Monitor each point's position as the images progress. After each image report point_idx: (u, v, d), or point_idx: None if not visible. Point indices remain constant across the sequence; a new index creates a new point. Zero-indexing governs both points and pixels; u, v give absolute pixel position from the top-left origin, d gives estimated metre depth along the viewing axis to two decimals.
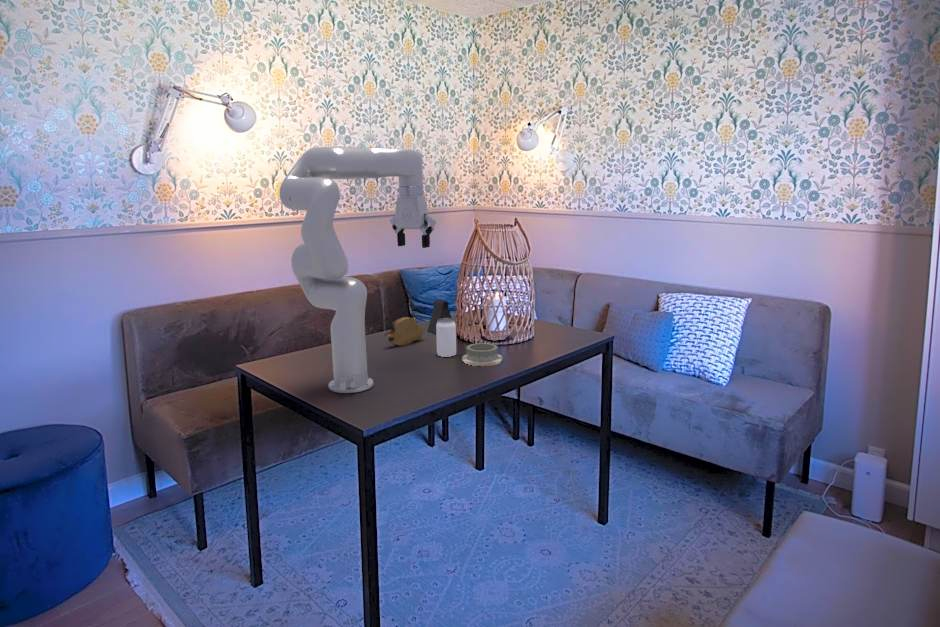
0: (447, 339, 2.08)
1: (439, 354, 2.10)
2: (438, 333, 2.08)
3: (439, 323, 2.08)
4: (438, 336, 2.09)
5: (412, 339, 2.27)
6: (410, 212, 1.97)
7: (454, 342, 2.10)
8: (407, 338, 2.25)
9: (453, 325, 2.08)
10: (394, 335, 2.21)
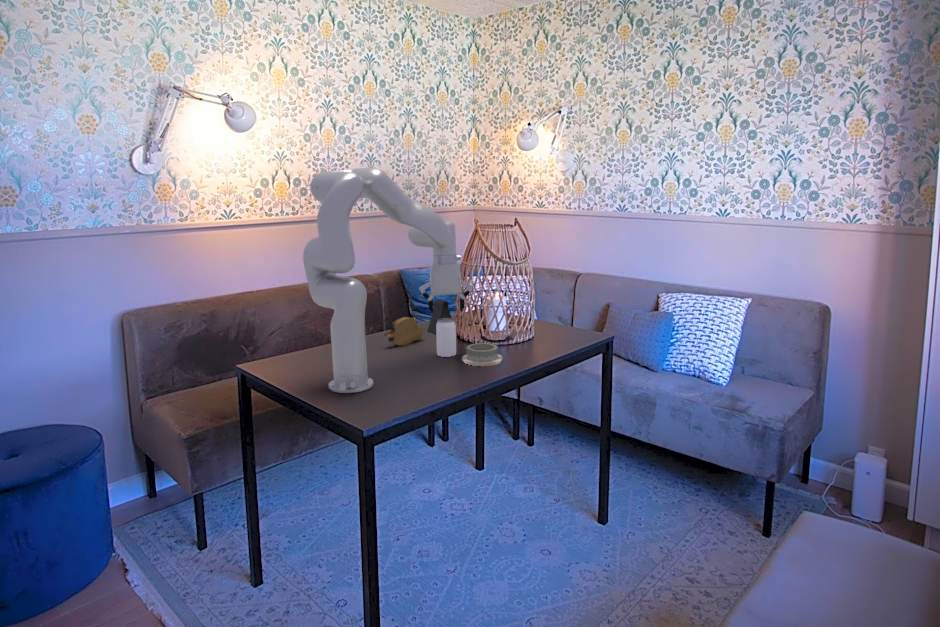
0: (447, 339, 2.08)
1: (439, 354, 2.10)
2: (438, 333, 2.08)
3: (439, 323, 2.08)
4: (438, 336, 2.09)
5: (412, 339, 2.27)
6: None
7: (454, 342, 2.10)
8: (407, 338, 2.25)
9: (453, 325, 2.08)
10: (394, 335, 2.21)
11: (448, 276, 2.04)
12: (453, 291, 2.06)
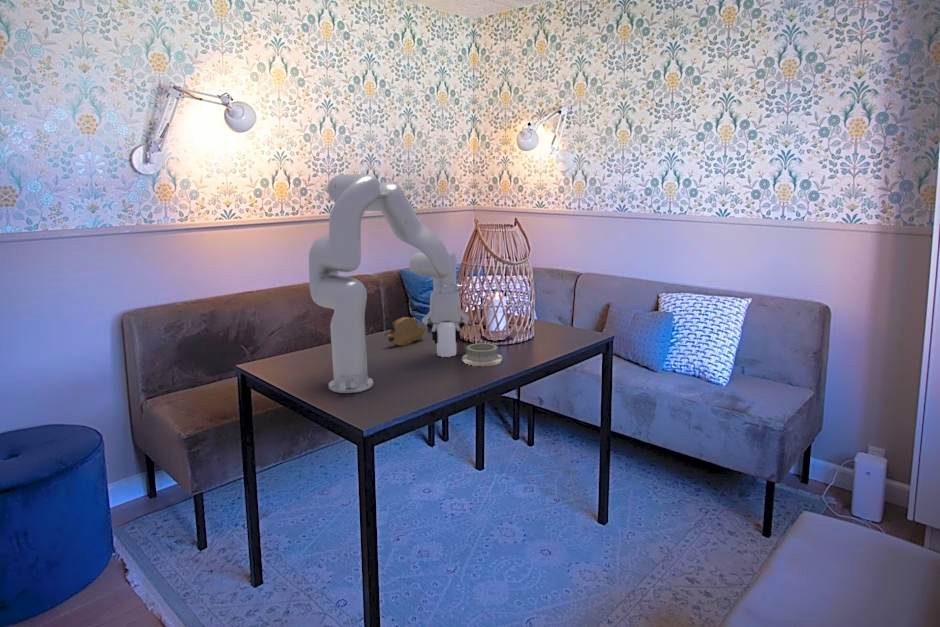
0: (447, 339, 2.08)
1: (439, 354, 2.10)
2: (438, 333, 2.08)
3: (439, 323, 2.08)
4: (438, 336, 2.09)
5: (412, 339, 2.27)
6: None
7: (454, 342, 2.10)
8: (407, 338, 2.25)
9: (453, 325, 2.08)
10: (394, 335, 2.21)
11: (448, 305, 2.06)
12: (453, 320, 2.08)
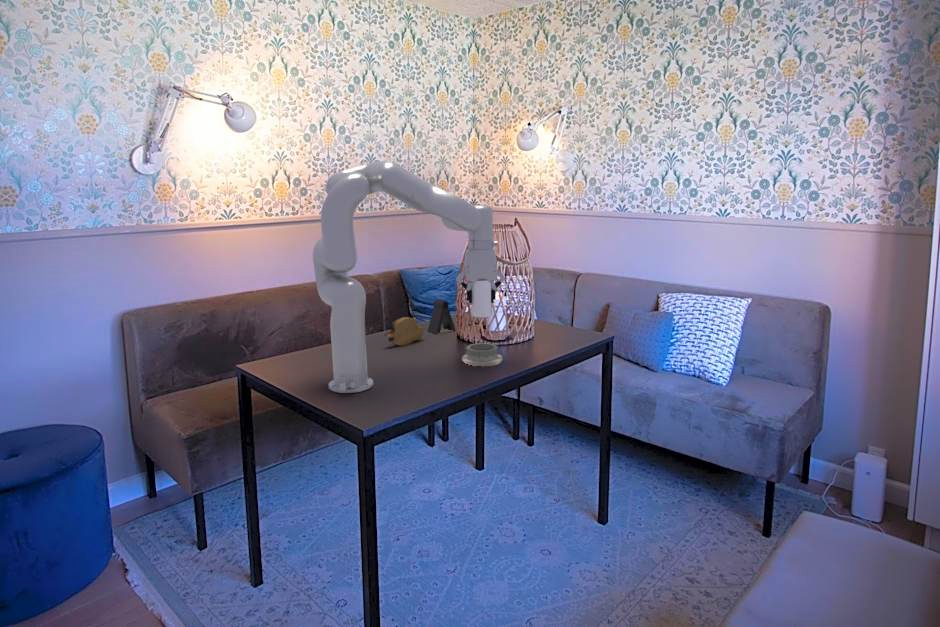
0: (483, 298, 1.98)
1: (474, 314, 2.00)
2: (473, 292, 1.98)
3: None
4: (473, 295, 1.99)
5: (412, 339, 2.27)
6: None
7: (490, 302, 2.00)
8: (407, 338, 2.25)
9: (489, 284, 1.98)
10: (394, 335, 2.21)
11: (484, 262, 1.96)
12: (489, 278, 1.98)
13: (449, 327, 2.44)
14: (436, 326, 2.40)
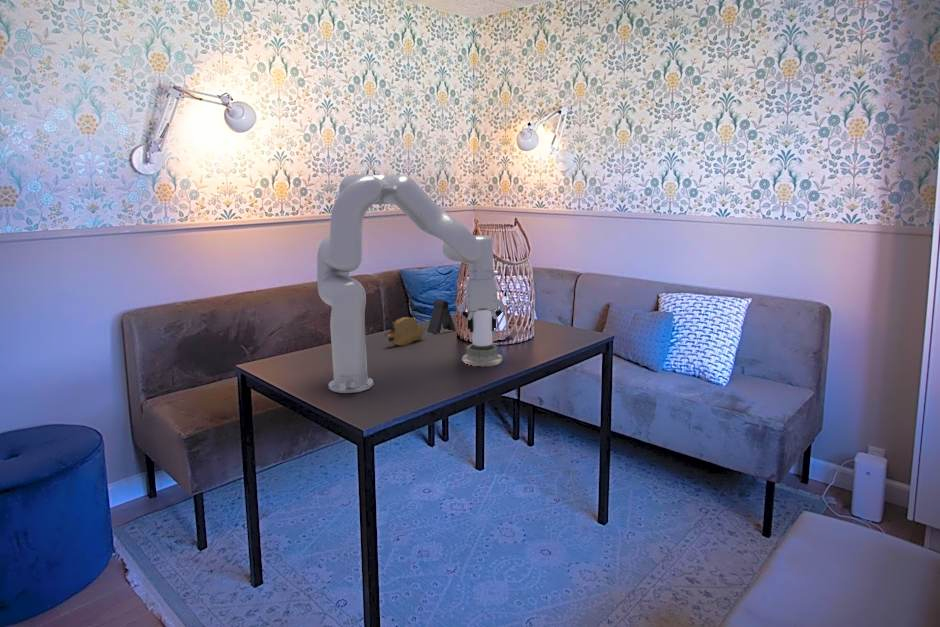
0: (484, 327, 2.00)
1: (475, 343, 2.02)
2: (474, 321, 2.00)
3: (475, 311, 2.00)
4: (474, 324, 2.01)
5: (412, 339, 2.27)
6: None
7: (491, 331, 2.02)
8: (407, 338, 2.25)
9: (490, 313, 2.00)
10: (394, 335, 2.21)
11: (485, 292, 1.98)
12: (489, 307, 2.00)
13: (449, 327, 2.44)
14: (436, 326, 2.40)
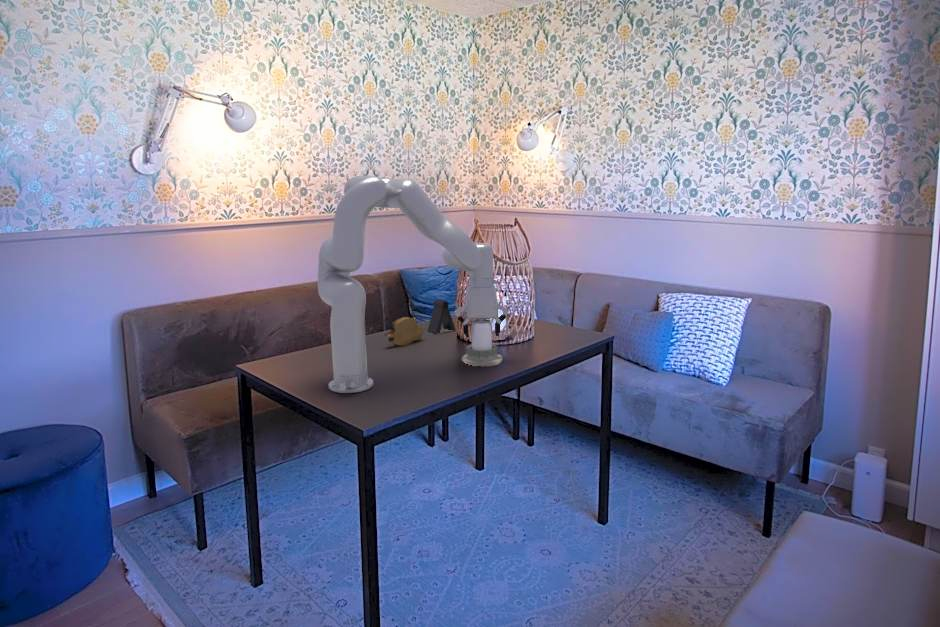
0: (484, 340, 2.01)
1: None
2: (474, 334, 2.01)
3: (475, 324, 2.01)
4: (474, 338, 2.02)
5: (412, 339, 2.27)
6: None
7: (490, 344, 2.03)
8: (407, 338, 2.25)
9: (489, 326, 2.01)
10: (394, 335, 2.21)
11: (485, 300, 1.99)
12: (489, 315, 2.00)
13: (449, 327, 2.44)
14: (436, 326, 2.40)
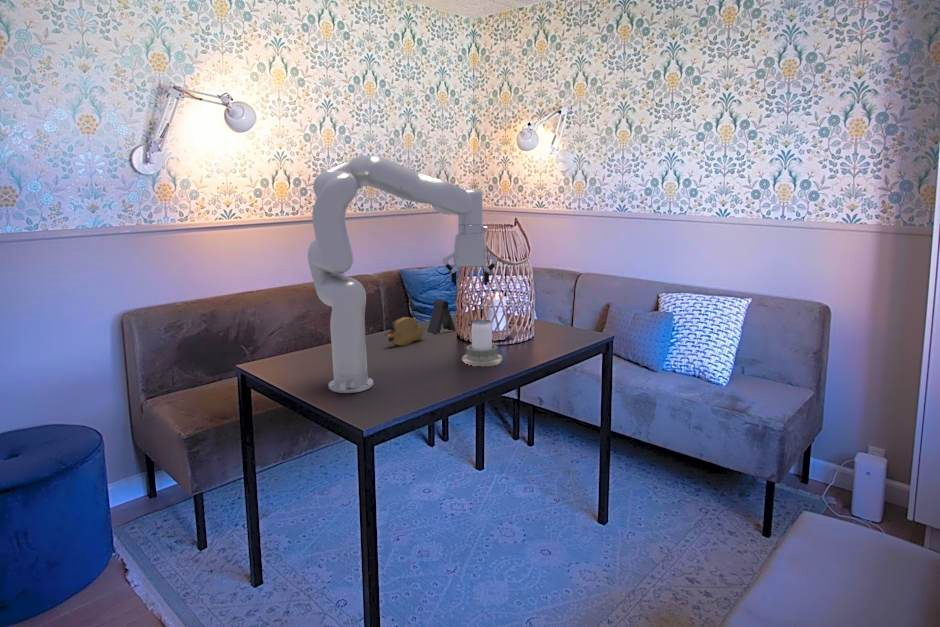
0: (484, 341, 2.01)
1: None
2: (474, 335, 2.01)
3: (475, 324, 2.01)
4: (474, 338, 2.02)
5: (412, 339, 2.27)
6: None
7: (490, 344, 2.03)
8: (407, 338, 2.25)
9: (489, 326, 2.01)
10: (394, 335, 2.21)
11: (473, 247, 1.95)
12: (478, 263, 1.97)
13: (449, 327, 2.44)
14: (436, 326, 2.40)
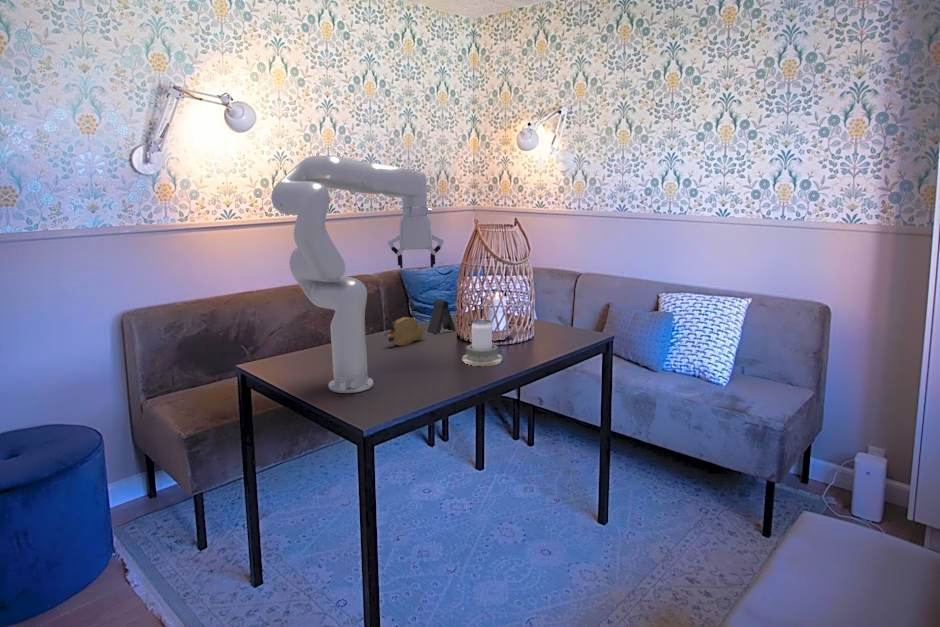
0: (484, 341, 2.01)
1: None
2: (474, 335, 2.01)
3: (475, 324, 2.01)
4: (474, 338, 2.02)
5: (412, 339, 2.27)
6: None
7: (490, 344, 2.03)
8: (407, 338, 2.25)
9: (489, 326, 2.01)
10: (394, 335, 2.21)
11: (418, 229, 1.96)
12: (423, 245, 1.98)
13: (449, 327, 2.44)
14: (436, 326, 2.40)
